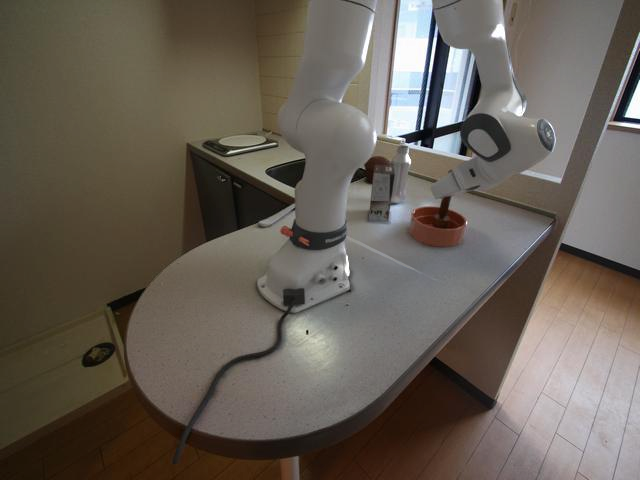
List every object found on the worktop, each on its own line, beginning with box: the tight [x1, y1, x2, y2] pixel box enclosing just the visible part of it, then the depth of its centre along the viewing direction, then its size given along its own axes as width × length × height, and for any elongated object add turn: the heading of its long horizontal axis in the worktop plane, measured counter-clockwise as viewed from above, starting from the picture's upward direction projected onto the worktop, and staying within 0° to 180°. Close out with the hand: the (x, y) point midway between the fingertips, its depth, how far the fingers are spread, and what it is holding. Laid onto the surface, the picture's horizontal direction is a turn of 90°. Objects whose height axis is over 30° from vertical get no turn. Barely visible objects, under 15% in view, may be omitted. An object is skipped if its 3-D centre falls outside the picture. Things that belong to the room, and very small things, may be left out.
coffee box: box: [368, 165, 395, 223], centre depth 100 cm, size 9×6×16 cm
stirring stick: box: [432, 169, 453, 229], centre depth 90 cm, size 4×4×17 cm
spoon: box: [258, 202, 295, 228], centre depth 109 cm, size 35×8×3 cm, turn 144°
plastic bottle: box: [390, 144, 412, 205], centre depth 110 cm, size 6×7×20 cm
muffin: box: [363, 155, 392, 184], centre depth 132 cm, size 12×11×10 cm
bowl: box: [408, 205, 468, 248], centre depth 93 cm, size 15×15×6 cm
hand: (445, 195), depth 90 cm, fingers closed on stirring stick, 2 cm apart
